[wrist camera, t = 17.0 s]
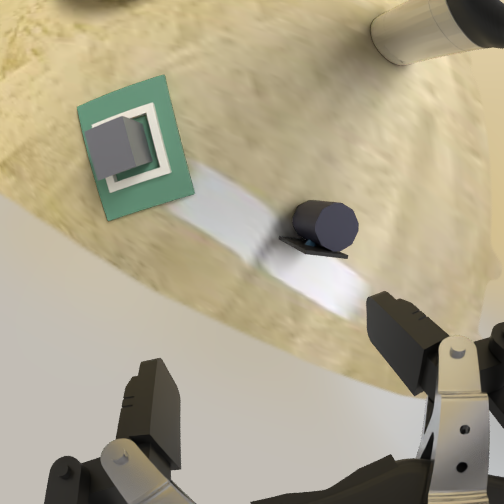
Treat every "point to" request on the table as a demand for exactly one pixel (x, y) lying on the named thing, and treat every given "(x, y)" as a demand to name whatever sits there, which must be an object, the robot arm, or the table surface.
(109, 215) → the board
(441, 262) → the table surface
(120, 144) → the gray rectangular block
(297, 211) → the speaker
